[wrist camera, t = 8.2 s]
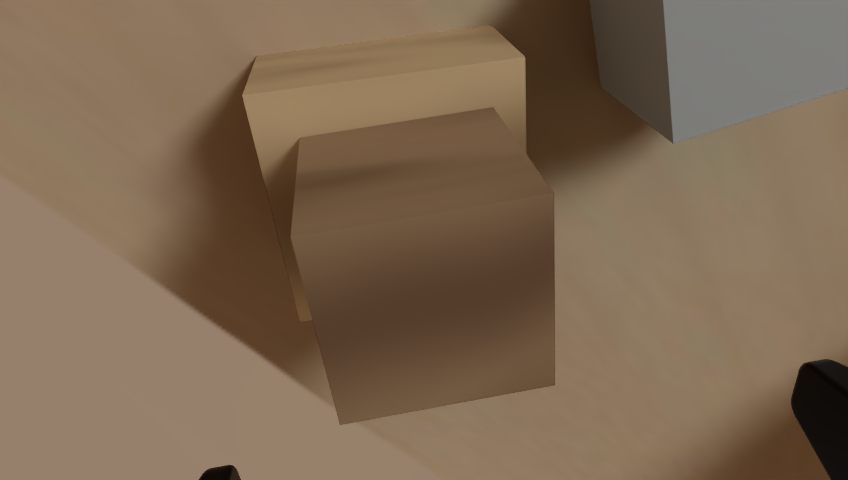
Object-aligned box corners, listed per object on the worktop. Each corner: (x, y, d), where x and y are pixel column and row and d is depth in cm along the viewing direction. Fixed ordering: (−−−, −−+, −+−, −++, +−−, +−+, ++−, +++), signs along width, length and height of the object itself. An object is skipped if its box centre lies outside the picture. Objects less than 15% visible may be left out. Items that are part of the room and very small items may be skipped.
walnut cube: (502, 267, 19) (554, 385, 14) (336, 295, 18) (339, 424, 14) (493, 106, 16) (554, 192, 12) (299, 137, 16) (290, 237, 12)
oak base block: (497, 223, 23) (528, 285, 19) (303, 252, 22) (299, 322, 19) (489, 23, 19) (525, 56, 16) (257, 53, 19) (242, 95, 15)
